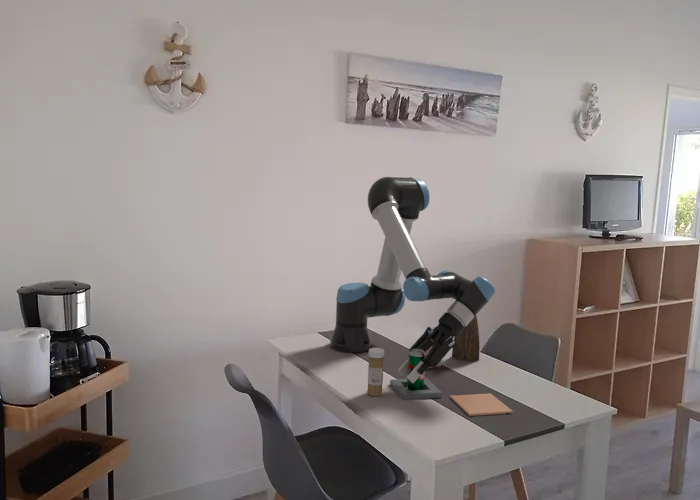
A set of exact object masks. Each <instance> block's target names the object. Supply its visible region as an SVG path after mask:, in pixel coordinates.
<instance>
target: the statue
mask: <svg viewBox="0 0 700 500" xmlns="http://www.w3.org/2000/svg"><path fill="white" fill-rule="evenodd" d="M453 340H454V342H455V343H456V345H455V346H454V347H453V348H452V349H451V351H452V352H451V357H452V358H453V359H454V360H457V361H463V362H464V361H465V362H478V361H479V360H480V333H479V323H478V318H477V315H476V316H475V317H474V318H473V319H472V320H471V321H470V323H469V324H468V325H467V326H466V327H464V330H463V331H462V332H461V333H460V334H459V336H457V337H453Z"/></svg>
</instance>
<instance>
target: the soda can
mask: <svg viewBox="0 0 700 500" xmlns="http://www.w3.org/2000/svg"><path fill="white" fill-rule="evenodd" d="M408 357H409V358H408ZM408 357H407V358H408V372H407V374H406V375H407V376H408V375H409V374H410V373H411V372H412V370H413V369H414V368H415V367H416V366H417V365H418V364H419V362H420V361H422V359H425V358H426V355H425V351H424V350H421V349H411V350H410V351H409V353H408ZM422 362H423V361H422ZM423 363H424V362H423ZM425 373H426V371H425V372H424V373H423V374H422V375H420V376H419V378H418V379H417V380H416V381H415V382H414V383H411V381H410V380H409V379H408V378H407V376H406V379H407V387H406V389H407V390H408V391H415V390H425V389H424V378H425Z"/></svg>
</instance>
